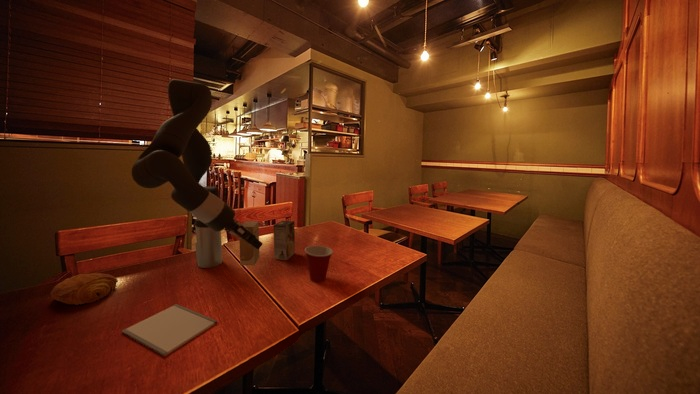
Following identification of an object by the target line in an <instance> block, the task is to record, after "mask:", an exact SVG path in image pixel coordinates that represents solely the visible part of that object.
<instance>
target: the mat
mask: <svg viewBox="0 0 700 394" xmlns="http://www.w3.org/2000/svg"><path fill="white" fill-rule="evenodd" d="M217 323H218V321H217V320H216V319H214V318H211V317H209V316H207V315H204V314H201V313H199V312H196V311H194V310H192V309H190V308H188V307H185V306H182V305H181V304H178V303H176V304H173V305H172V306H170V307H168V308H166V309H164V310H162V311H160V312H157V313H155V314H154V315H152V316H150V317H147V318H146V319H144V320H141V321H139V322H137V323H135V324H133V325H131V326H128V327H127V328H124V329H122V330H121V334H123V333H124V334H126V335H128V336H129V337H128V336H127V337H128V338H130V337H131V338H130V339H132V338H133V339H134V340H133V339H132V340H133V341H135V340H136V342H137V343H139V344H140V343H141V345H142V344H143V345H142V346H144V345H145V347H146V346H147V347H146V348H148V347H149V348H151V349H153V350H154V351H153V350H152V351H153V352H155V353H156V352H157V354H158V353H159V354H158V355H160V356H162V357H163V356H164V357H166V356H168V355H169V354H171V353H172V352H174V351H175V350H177V349H178V348H180V347H182V346H184V345H185V344H186V343H188V342H190V341H191V340H193V339H195V338H197V336H199V335H200V334H202V333H204V332H205V331H207V330H209V328H212V327H213V326H214V325H216V324H217ZM124 334H123V335H124ZM126 335H125V336H126ZM149 348H148V349H149ZM151 349H150V350H151Z"/></svg>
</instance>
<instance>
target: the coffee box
mask: <svg viewBox="0 0 700 394" xmlns="http://www.w3.org/2000/svg"><path fill="white" fill-rule="evenodd" d="M295 229H296V228H295V221H293V220H292V221H291V220H281V221H279V222H278V223H275V224H274V225H273V255H274V257H273V258H274V259H275V260H280V261H288V260H289V259H290V258H291V257H292V256H293V255H294V254H295V253H296V252H295V251H296V250H295V249H296V248H295V247H296V246H295V241H296V240H295V239H296V238H295V233H296V232H295Z"/></svg>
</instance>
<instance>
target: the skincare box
mask: <svg viewBox="0 0 700 394" xmlns="http://www.w3.org/2000/svg"><path fill="white" fill-rule="evenodd" d="M259 224H260V223H259V221H243V222H242V223H241V225H242V226H244V227H245V228H247V229H248V230H249V232H251V233H252V234H253V235H255V236H256V239H258V240H259V241H260V229H259V227H260V226H259ZM249 237H250V235H248V237H247V239H248V238H249ZM238 239H239V238H238ZM238 241H239V263H240V264H239V265H240V266H255V265H256V264H257V262H258V260H259V259H260V248H259V249H256V248H255V247H254V246H252V245H251V244H249V243H247V242H246V241H245V240H244V239H242V240H240V239H239V240H238Z"/></svg>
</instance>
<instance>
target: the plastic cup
mask: <svg viewBox="0 0 700 394" xmlns="http://www.w3.org/2000/svg"><path fill="white" fill-rule="evenodd" d="M304 253H305V256H306V261H307V268H308V273H309V279H310V281H311V282H313V283H323V282H325V281H326V277H327V274H328V273H327V272H328V269H329V263H330V260H331V257H332V255H333V253H334V250H333V249H332V248H330V247H328V246H323V245H310V246H306V247H305V248H304Z"/></svg>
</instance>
